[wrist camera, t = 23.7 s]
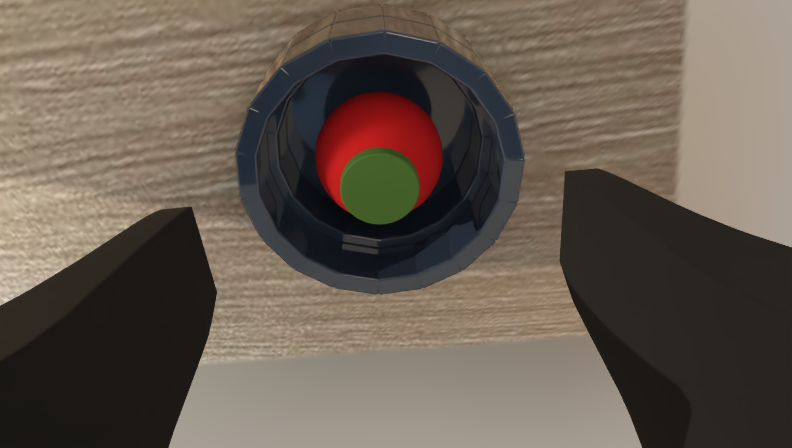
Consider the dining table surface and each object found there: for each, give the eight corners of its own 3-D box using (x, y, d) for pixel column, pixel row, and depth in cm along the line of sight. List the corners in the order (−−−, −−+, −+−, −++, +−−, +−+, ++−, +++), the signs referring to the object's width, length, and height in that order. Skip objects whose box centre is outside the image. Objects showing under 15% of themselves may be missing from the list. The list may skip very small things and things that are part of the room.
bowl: (510, 4, 15) (545, 34, 12) (482, 228, 19) (504, 296, 16) (251, -5, 15) (220, 25, 12) (269, 225, 18) (249, 294, 15)
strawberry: (433, 70, 16) (447, 115, 13) (439, 179, 17) (453, 244, 14) (311, 81, 16) (297, 130, 13) (328, 190, 17) (319, 256, 14)
